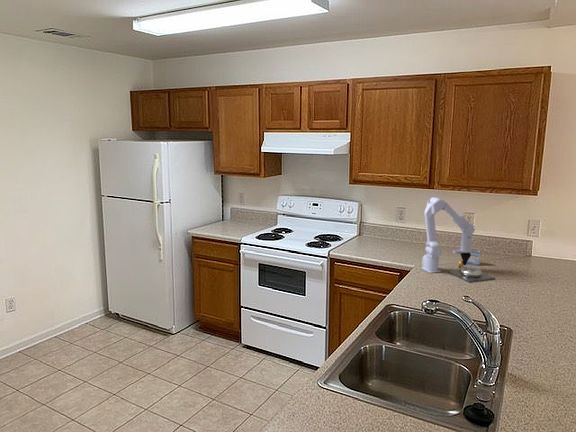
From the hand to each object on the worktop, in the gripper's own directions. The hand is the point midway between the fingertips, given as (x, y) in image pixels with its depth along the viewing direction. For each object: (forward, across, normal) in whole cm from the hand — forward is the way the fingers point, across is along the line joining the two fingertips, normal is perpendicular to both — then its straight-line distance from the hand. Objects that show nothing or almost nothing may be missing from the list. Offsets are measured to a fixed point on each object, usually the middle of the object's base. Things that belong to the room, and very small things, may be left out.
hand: (464, 264), depth 265 cm
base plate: (+3, +1, +11) cm, 11 cm away
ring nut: (+2, +2, +7) cm, 8 cm away
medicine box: (+4, -12, -12) cm, 17 cm away
